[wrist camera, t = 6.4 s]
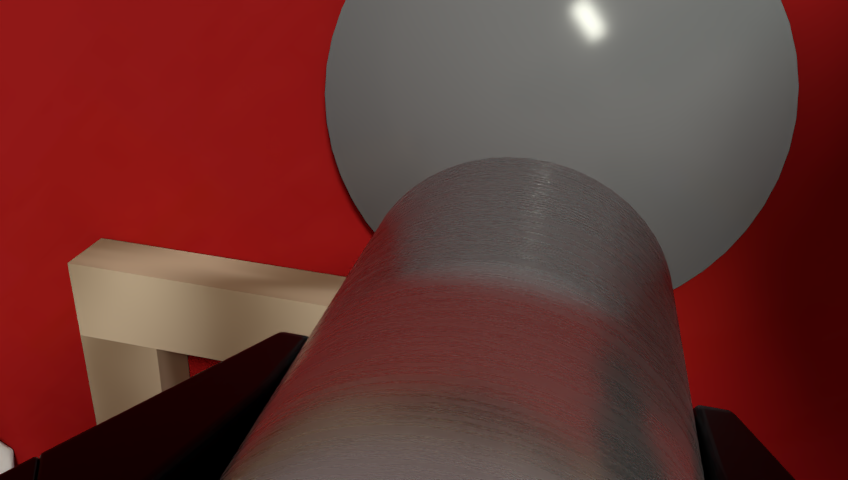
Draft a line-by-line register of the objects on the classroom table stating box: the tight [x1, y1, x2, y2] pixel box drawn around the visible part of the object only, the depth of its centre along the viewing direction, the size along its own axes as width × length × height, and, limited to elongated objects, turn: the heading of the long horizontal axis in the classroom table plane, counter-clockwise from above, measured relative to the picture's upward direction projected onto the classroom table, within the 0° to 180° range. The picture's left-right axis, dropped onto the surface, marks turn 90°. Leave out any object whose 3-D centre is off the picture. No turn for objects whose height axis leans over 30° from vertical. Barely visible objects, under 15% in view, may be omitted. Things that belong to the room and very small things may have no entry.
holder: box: [68, 238, 346, 425], centre depth 26 cm, size 12×12×2 cm
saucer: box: [325, 0, 799, 289], centre depth 20 cm, size 12×12×1 cm
